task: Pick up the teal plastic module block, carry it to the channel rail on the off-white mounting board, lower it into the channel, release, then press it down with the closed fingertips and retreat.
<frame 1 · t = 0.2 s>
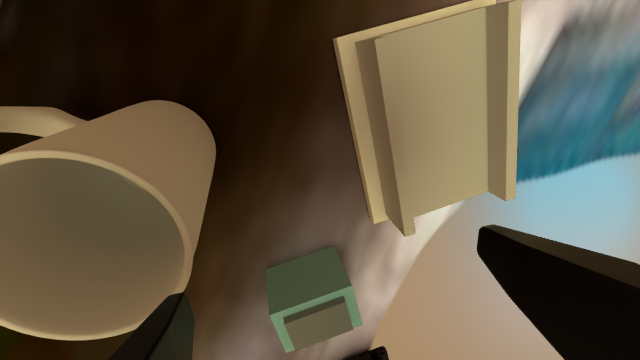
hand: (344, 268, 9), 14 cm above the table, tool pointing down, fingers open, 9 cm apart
mount board: (421, 118, 23), on the table
module: (306, 274, 27), on the table
mug: (141, 135, 20), on the table
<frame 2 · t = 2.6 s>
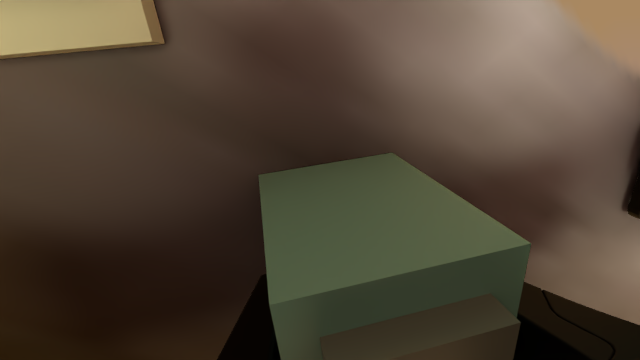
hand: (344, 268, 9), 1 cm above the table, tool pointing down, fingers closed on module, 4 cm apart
module: (335, 249, 10), on the table, touching gripper
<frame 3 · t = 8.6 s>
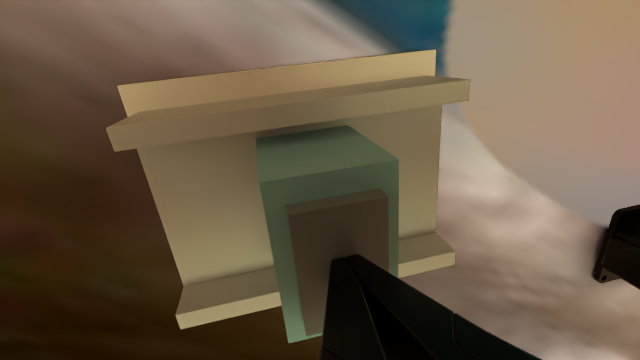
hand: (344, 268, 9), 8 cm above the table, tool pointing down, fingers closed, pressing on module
mount board: (301, 174, 16), on the table
module: (310, 195, 14), point 2 cm above the table, touching gripper, mount board
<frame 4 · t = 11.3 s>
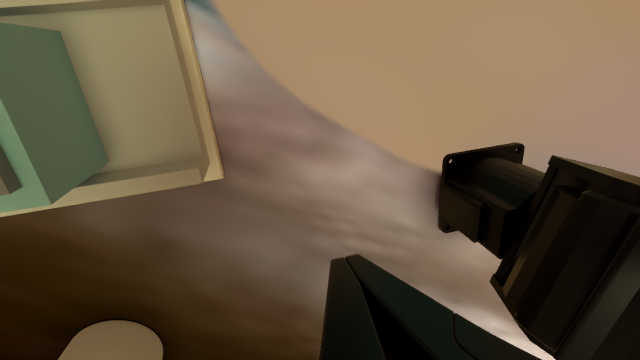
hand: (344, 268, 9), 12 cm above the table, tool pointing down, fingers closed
mount board: (66, 98, 16), on the table
module: (38, 107, 14), point 2 cm above the table, touching mount board
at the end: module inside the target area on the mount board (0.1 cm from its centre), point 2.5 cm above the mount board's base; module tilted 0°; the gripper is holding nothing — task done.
